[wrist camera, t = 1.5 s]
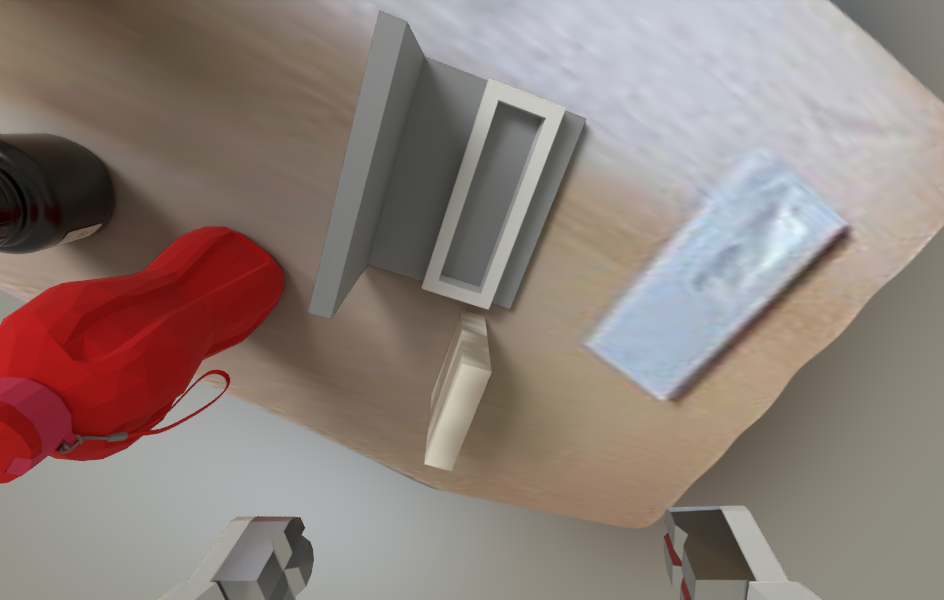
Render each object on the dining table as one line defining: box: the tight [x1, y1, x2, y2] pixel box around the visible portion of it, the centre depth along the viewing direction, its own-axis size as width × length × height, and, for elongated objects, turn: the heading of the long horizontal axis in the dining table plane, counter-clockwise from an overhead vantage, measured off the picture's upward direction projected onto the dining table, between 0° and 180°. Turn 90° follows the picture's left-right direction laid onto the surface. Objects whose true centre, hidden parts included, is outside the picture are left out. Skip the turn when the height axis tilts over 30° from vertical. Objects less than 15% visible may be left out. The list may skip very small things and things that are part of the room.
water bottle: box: [0, 227, 285, 483], centre depth 32 cm, size 9×11×25 cm
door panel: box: [424, 310, 492, 471], centre depth 42 cm, size 3×10×11 cm, turn 161°
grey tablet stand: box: [308, 10, 586, 319], centre depth 34 cm, size 16×18×14 cm
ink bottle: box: [0, 134, 114, 254], centre depth 34 cm, size 10×9×12 cm
